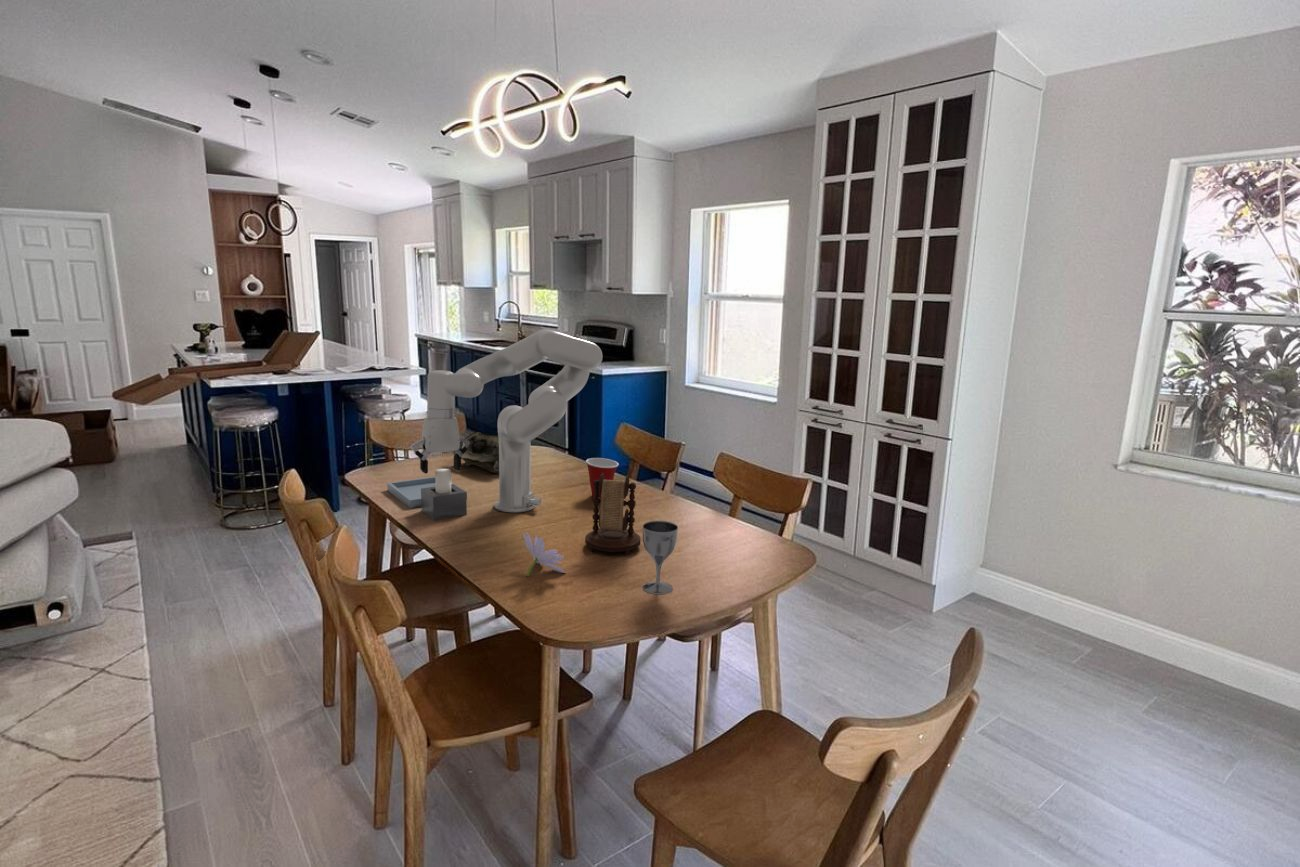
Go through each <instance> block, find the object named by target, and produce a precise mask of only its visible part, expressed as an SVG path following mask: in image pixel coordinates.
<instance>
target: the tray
mask: <svg viewBox="0 0 1300 867" xmlns="http://www.w3.org/2000/svg"><path fill="white" fill-rule="evenodd" d="M386 484H387V485H386V486H387V488H386V489H387V491H388V492H389V493H391V494H392V496H394V497H395V498H396V499H398V500H399V501H400V502H401V503H403V504H404V505H406V506H407V507H408V508H409V509H416V508H421V488H428V487H435V476H430V477H423V478H422V477H421V478H414V479H408V480H399V481H392V482H391V481H389V482H387V483H386ZM451 484H454V485H456V486H457V487H459V488H461V487H460V486H459V485H457V484H455V483H453V481H451ZM461 489H462V490H464V491H465V492H466V500H467V499H468V492H467V491H466V490H465V489H463V488H461Z"/></svg>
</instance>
